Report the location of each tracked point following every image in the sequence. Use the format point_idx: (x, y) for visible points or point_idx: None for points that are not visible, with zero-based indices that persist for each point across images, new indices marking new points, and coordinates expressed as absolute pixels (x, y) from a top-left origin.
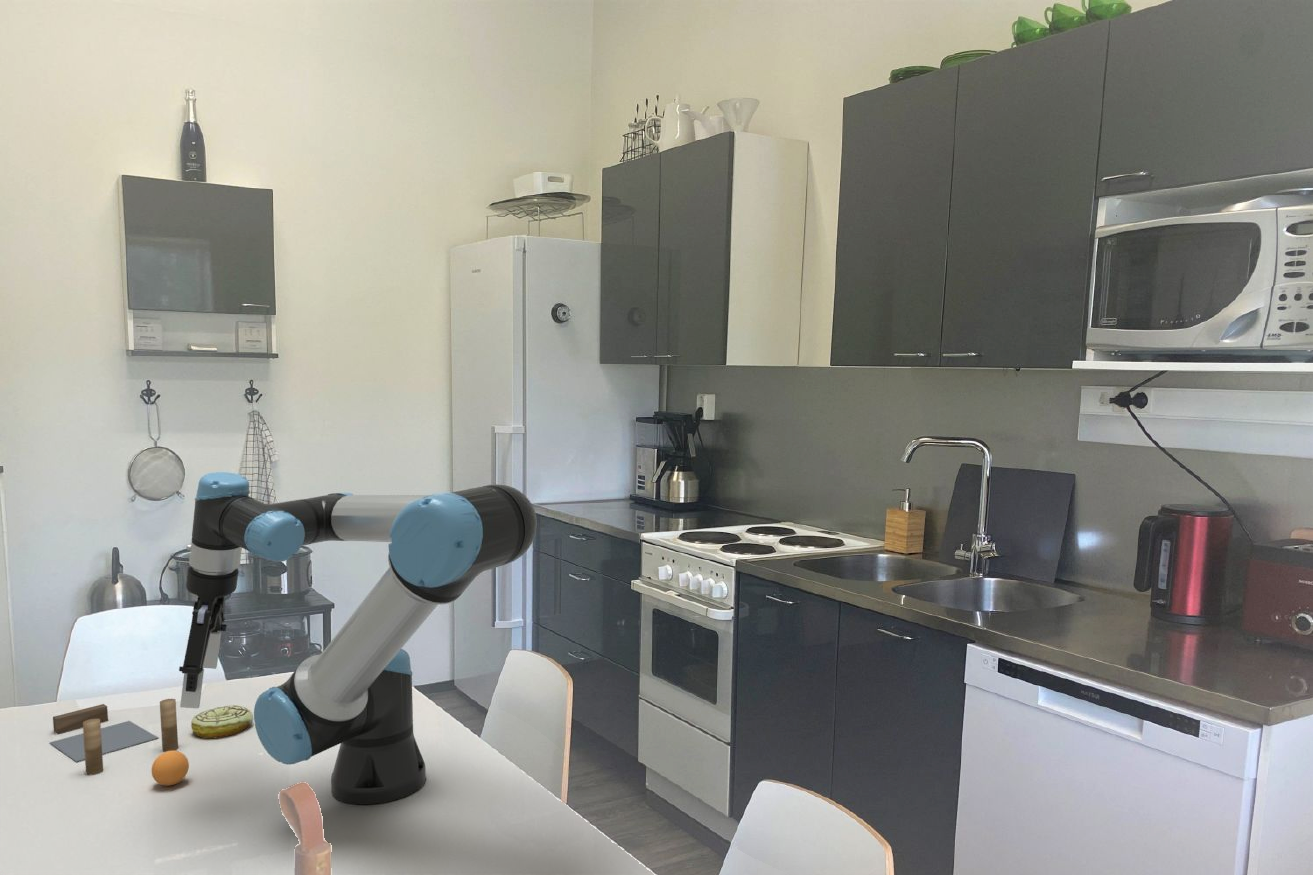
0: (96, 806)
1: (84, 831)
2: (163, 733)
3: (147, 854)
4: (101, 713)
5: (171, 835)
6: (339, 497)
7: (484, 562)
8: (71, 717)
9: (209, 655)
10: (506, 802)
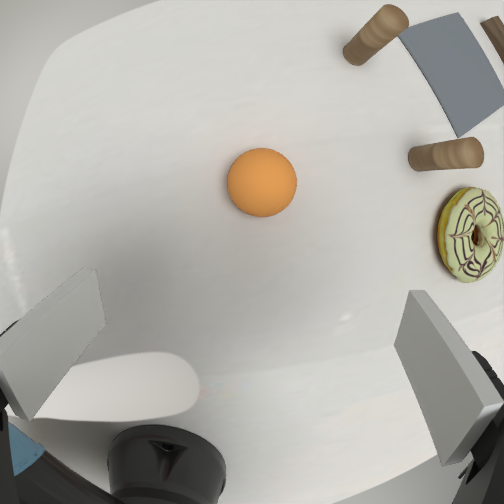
0: (200, 80)
1: (108, 94)
2: (428, 147)
3: (18, 213)
4: None
5: (57, 231)
6: None
7: None
8: (500, 34)
9: (420, 354)
10: None
